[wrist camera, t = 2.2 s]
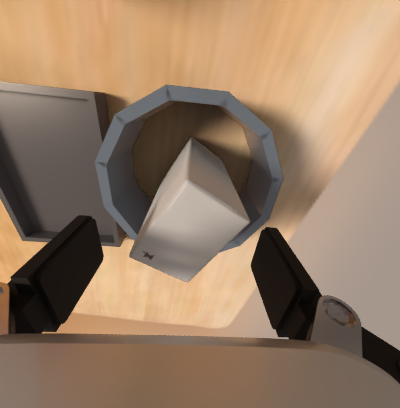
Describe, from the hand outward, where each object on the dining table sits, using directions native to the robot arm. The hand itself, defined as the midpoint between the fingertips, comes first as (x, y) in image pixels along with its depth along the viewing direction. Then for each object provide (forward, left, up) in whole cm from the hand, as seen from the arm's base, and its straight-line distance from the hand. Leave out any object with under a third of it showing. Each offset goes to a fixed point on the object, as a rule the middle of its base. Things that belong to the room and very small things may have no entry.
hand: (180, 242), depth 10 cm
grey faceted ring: (0, -1, -11) cm, 11 cm away
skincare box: (0, -1, -12) cm, 12 cm away
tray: (+14, +1, -11) cm, 18 cm away
